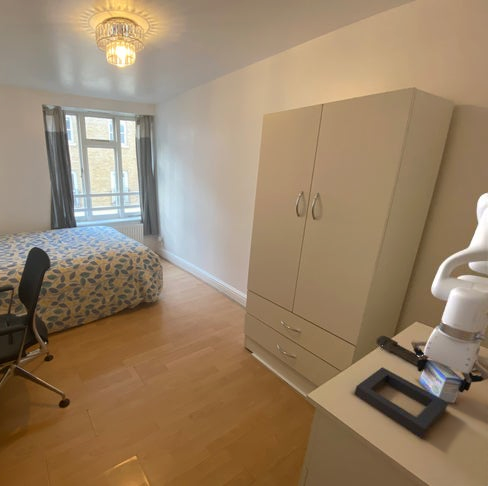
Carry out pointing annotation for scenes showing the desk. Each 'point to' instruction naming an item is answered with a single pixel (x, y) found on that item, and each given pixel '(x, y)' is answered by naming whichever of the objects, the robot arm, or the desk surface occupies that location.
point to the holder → (393, 411)
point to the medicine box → (440, 381)
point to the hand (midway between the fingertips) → (440, 379)
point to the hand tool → (397, 349)
